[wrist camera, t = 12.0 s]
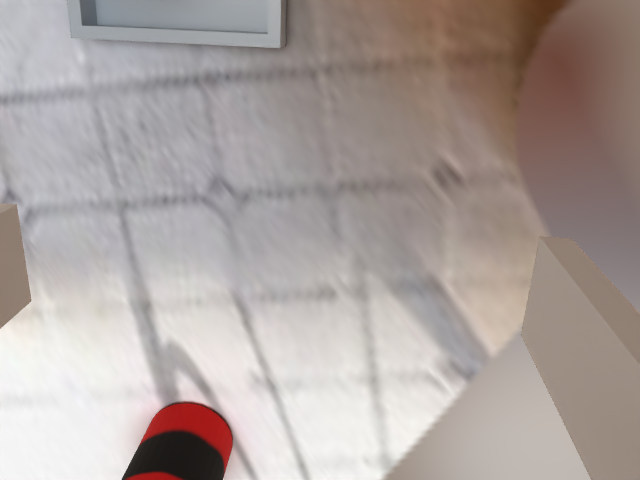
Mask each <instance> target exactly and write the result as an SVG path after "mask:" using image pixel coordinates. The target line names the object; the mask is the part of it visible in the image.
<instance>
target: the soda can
mask: <svg viewBox="0 0 640 480" xmlns="http://www.w3.org/2000/svg"><path fill="white" fill-rule="evenodd" d="M231 449H232V436H231V432H230V430H229V428H228V426H227V424H226V423H225V422H224V421H223V419H222V418H221V417H219V416H218V415H217V414H216V413H215V412H213V411H211V410H210V409H208V408H206V407H203V406H200V405H196V404H187V403H184V404H175V405H172V406H168V407H166V408H164V409H162V410H161V411H160V412H159V413H157V414H156V415H155V417H154V418H153V419H152V421H151V423H150V425H149V427H148V429H147V431H146V433H145V435H144V437H143V439H142V441H141V443H140V445H139V447H138V449H137V451H136V452H135V454H134V456H133V458H132V460H131V462H130V464H129V466H128V468H127V470H126V472H125V474H124V476H123V478H122V480H223V477H224V474H225V470H226V467H227V463H228V460H229V457H230V453H231Z"/></svg>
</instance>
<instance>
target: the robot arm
mask: <svg viewBox="0 0 640 480" xmlns="http://www.w3.org/2000/svg"><path fill="white" fill-rule="evenodd" d="M30 302H31V295H30V288H29V282H28V275H27V269H26V262H25V256H24V249H23V243H22V236H21V230H20V223H19V216H18V210H17V204H2V203H0V328H1V327H3V326H4V325H5V324H6V323H7V322H8V321H9V320H11V319H12V318H13V317H14V316H15V315H16V314H17V313H18V312H20V311H21V310H22V309H23V308H24V307H25V306H26V305H28V304H29V303H30ZM521 336H522V338H523V340H524V342H525V344H526V346H527V348H528V350H529V353H530V355H531V356H532V359H533V361H534V363H535V365H536V367H537V369H538V371H539V373H540V375H541V377H542V379H543V381H544V383H545V385H546V388H547V389H548V391H549V394H550V396H551V398H552V400H553V402H554V404H555V406H556V408H557V410H558V412H559V414H560V416H561V418H562V420H563V422H564V425H565V426H566V429H567V430H568V433H569V435H570V437H571V439H572V441H573V443H574V445H575V447H576V449H577V451H578V453H579V455H580V457H581V460H582V461H583V464H584V466H585V468H586V470H587V472H588V474H589V476H590V478H591V480H640V314H639V312H638V311H637V310H636V309H635V308H634V307H633V306H632V305H631V303H630V302H629V301H628V300H627V299H626V298H625V297H624V296H623V295H622V294H621V293H620V291H619V290H618V289H617V288H616V287H615V286H614V285H613V284H612V283H611V281H610V280H609V279H608V278H607V277H606V276H605V275H604V274H603V273H602V272H601V270H600V269H599V268H598V267H597V266H596V265H595V264H594V263H593V262H592V261H591V259H590V258H589V257H588V256H587V255H586V254H585V253H584V252H583V251H582V250H581V249H580V247H579V246H578V245H577V244H576V243H575V242H574V241H573V240H572V239H570V238H554V237H539V243H538V248H537V253H536V258H535V264H534V269H533V274H532V280H531V285H530V290H529V295H528V301H527V306H526V311H525V316H524V322H523V327H522V332H521Z"/></svg>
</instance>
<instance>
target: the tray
mask: <svg viewBox="0 0 640 480" xmlns="http://www.w3.org/2000/svg"><path fill="white" fill-rule="evenodd" d="M67 4H68V13H69V23H70V32H71V38H79V39H100V40H121V41H142V42H163V43H184V44H205V45H225V46H246V47H267V48H281V47H284V46H286V9H287V0H67Z"/></svg>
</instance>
